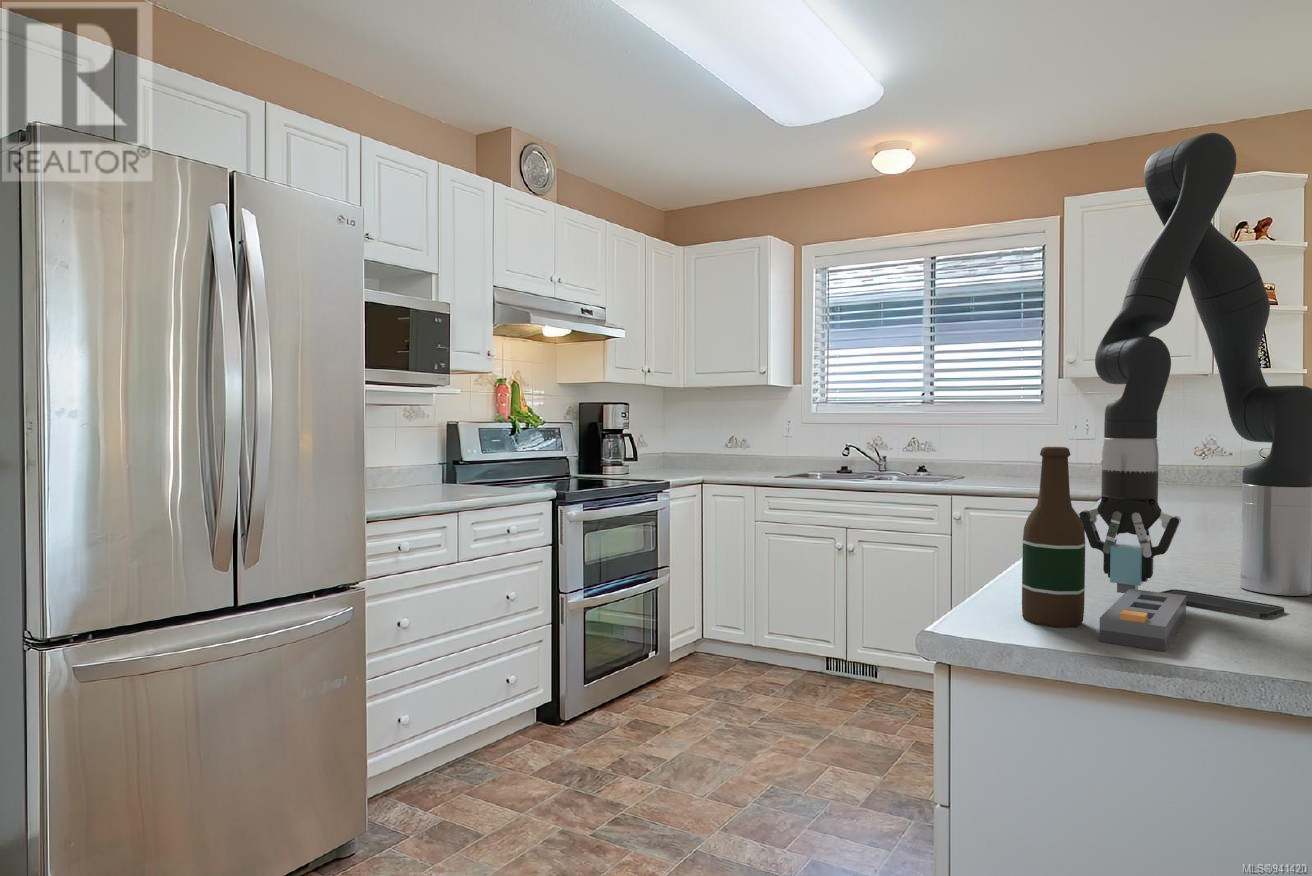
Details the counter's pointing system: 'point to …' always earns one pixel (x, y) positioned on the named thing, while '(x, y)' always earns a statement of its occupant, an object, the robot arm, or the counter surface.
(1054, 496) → the beer bottle
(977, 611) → the counter surface
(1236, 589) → the counter surface
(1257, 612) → the phone
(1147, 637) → the power strip
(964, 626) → the counter surface
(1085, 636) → the counter surface
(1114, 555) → the block
